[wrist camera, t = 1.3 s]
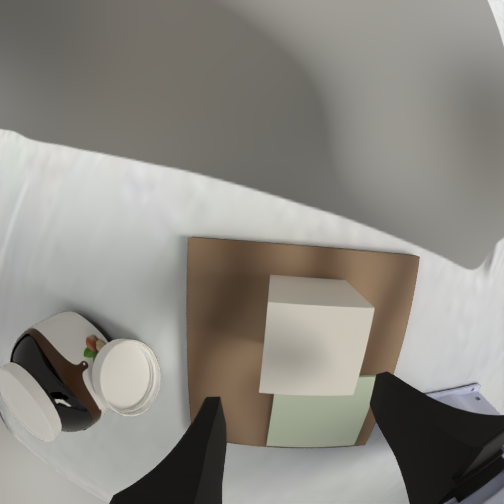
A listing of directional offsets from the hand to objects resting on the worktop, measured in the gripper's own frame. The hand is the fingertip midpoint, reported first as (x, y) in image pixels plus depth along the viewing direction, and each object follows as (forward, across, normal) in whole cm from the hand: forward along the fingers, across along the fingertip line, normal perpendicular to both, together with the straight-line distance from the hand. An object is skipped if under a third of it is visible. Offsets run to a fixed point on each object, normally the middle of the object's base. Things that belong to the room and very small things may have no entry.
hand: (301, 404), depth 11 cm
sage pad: (+8, -4, +10) cm, 14 cm away
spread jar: (+12, +16, +5) cm, 21 cm away
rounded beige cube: (+9, -2, 0) cm, 10 cm away
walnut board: (+10, -2, +5) cm, 11 cm away
